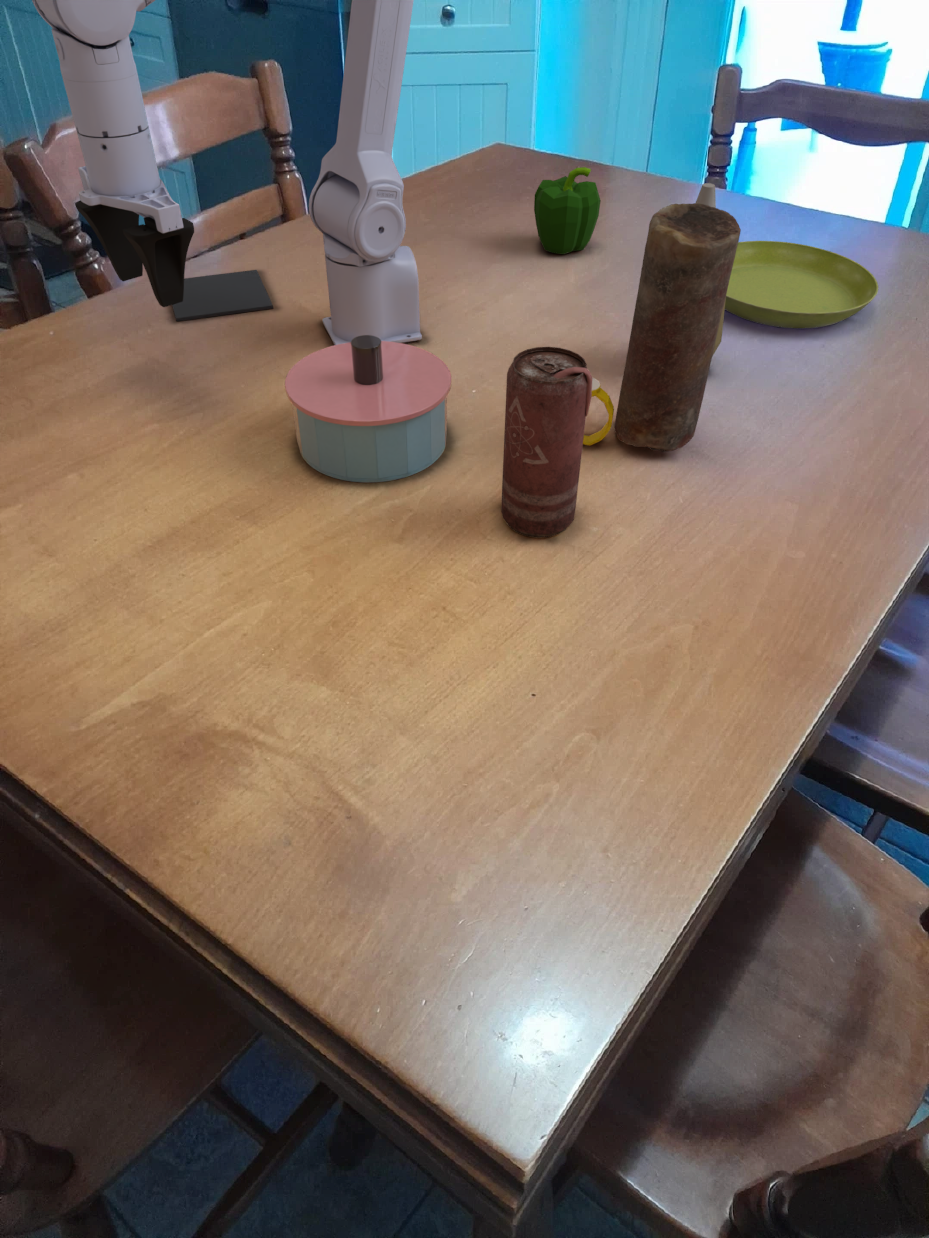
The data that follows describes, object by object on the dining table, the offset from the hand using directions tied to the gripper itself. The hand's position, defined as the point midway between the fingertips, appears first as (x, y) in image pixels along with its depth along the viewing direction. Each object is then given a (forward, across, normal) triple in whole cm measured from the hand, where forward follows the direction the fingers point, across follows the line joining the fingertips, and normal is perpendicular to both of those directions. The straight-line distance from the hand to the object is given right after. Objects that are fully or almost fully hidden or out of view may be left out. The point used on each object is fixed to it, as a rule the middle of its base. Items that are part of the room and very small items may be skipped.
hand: (150, 290), depth 83 cm
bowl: (+10, +21, +9) cm, 25 cm away
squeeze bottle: (+10, +31, +42) cm, 53 cm away
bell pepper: (+10, 0, +57) cm, 58 cm away
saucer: (+10, +28, +64) cm, 71 cm away
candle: (+10, +38, +29) cm, 49 cm away
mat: (+10, -17, +15) cm, 25 cm away
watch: (+10, +34, +23) cm, 42 cm away
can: (+10, +40, +12) cm, 43 cm away
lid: (+4, +21, +9) cm, 23 cm away
